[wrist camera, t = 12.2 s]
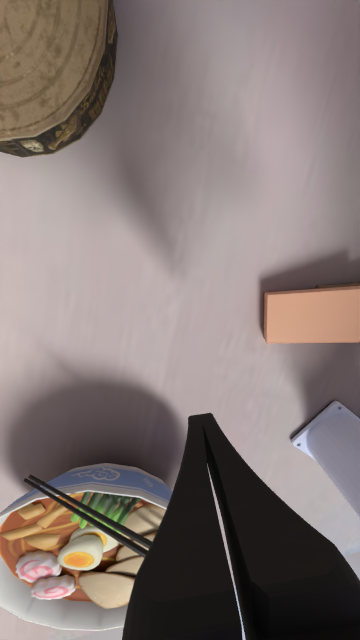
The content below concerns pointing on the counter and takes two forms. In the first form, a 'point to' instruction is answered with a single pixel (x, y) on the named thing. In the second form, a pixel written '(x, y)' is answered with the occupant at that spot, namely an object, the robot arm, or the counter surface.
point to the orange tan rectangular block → (312, 315)
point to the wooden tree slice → (53, 71)
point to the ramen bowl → (79, 545)
